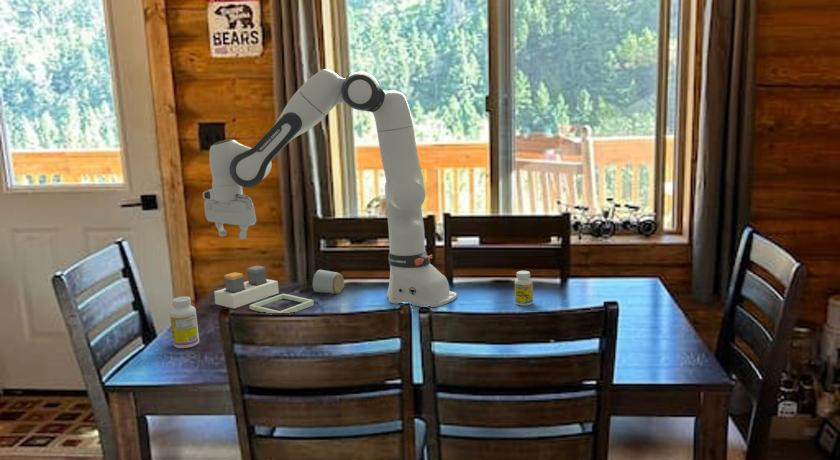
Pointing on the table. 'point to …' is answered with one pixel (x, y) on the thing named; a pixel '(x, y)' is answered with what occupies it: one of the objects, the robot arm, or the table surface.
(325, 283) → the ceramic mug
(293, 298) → the white square frame
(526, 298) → the supplement bottle
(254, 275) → the twin plug
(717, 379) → the table surface
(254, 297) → the socket strip
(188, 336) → the supplement bottle
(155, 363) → the table surface
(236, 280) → the grey plug
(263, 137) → the robot arm
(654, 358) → the table surface
